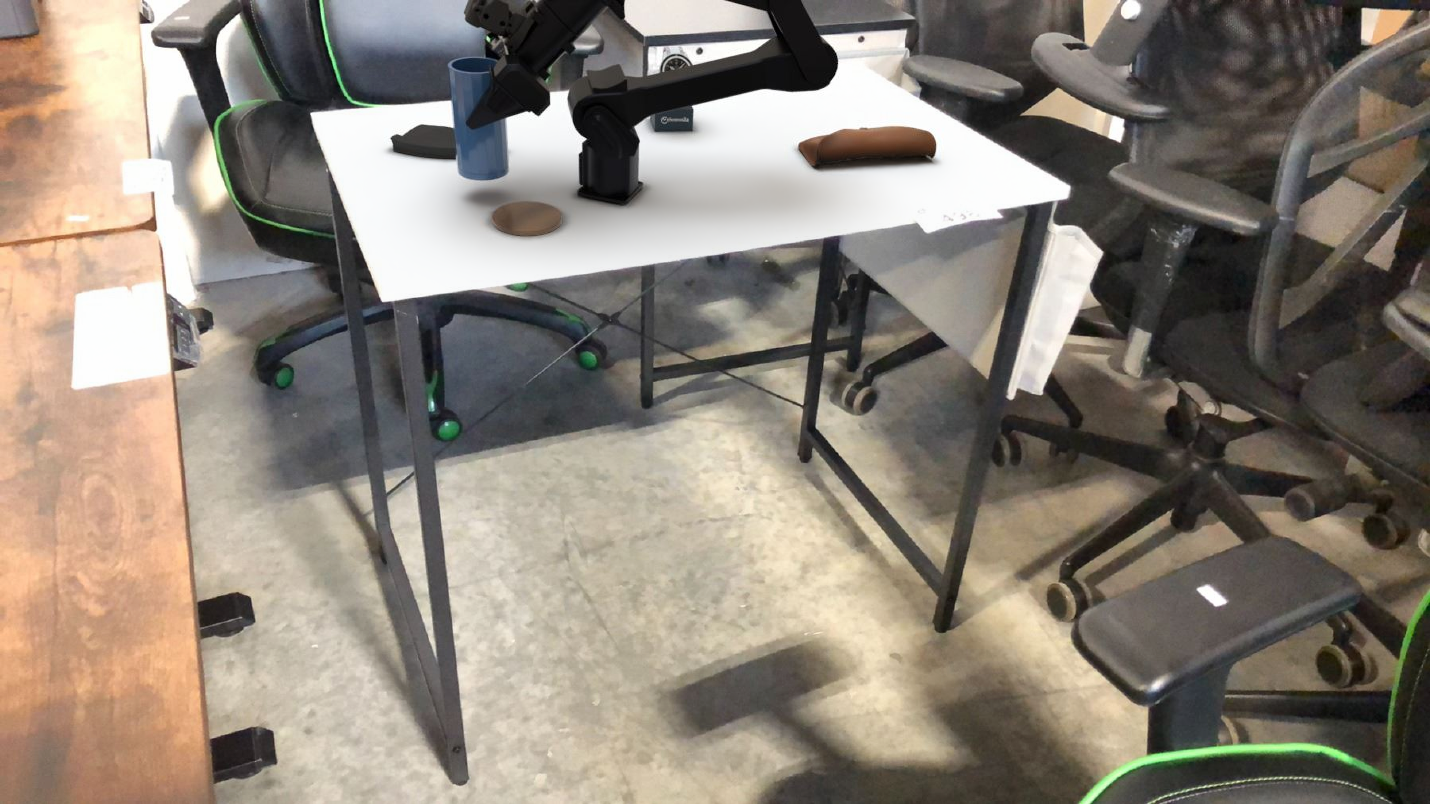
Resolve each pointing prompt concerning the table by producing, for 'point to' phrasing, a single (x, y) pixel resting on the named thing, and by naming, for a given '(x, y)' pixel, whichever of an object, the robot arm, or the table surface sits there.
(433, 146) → the dark sector wedge
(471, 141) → the pen cup
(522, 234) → the coaster
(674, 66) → the watch
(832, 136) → the sunglasses case
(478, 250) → the table surface
